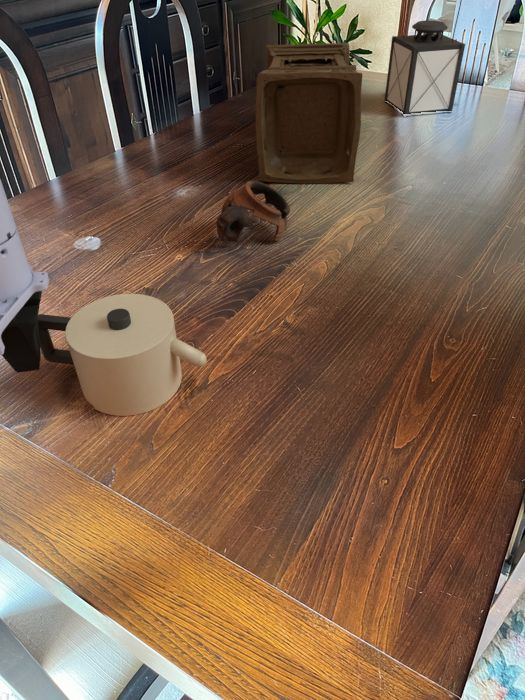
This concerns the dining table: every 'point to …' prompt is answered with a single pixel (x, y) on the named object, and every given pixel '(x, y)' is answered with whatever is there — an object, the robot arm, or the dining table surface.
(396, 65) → the lantern
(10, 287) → the robot arm
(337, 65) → the ornamental box
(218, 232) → the brown hollow curved piece
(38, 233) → the dining table surface
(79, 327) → the kettle
